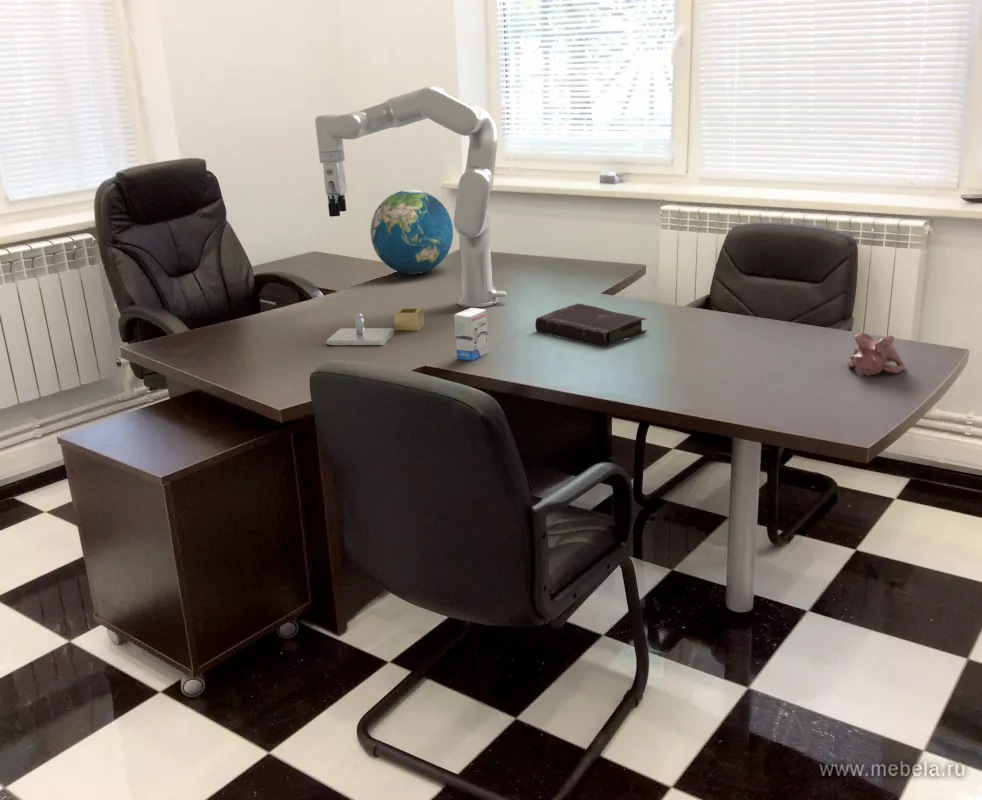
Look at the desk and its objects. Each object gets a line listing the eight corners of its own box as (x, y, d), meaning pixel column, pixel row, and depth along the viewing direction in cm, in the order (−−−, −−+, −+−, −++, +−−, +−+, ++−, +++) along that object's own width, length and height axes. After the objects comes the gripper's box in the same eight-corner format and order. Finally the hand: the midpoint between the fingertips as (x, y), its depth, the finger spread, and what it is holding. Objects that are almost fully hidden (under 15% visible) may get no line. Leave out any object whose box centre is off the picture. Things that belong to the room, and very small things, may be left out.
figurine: (848, 379, 222) (833, 366, 210) (857, 337, 223) (843, 322, 211) (902, 387, 216) (890, 374, 203) (911, 344, 216) (900, 329, 204)
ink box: (472, 361, 238) (469, 316, 234) (455, 359, 240) (452, 315, 236) (489, 352, 245) (487, 308, 241) (474, 350, 247) (471, 306, 243)
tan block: (424, 324, 274) (423, 307, 273) (418, 330, 268) (417, 313, 266) (401, 324, 276) (399, 307, 274) (395, 330, 269) (393, 314, 267)
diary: (603, 350, 243) (603, 332, 241) (535, 334, 261) (534, 317, 259) (648, 333, 255) (648, 315, 253) (580, 319, 272) (579, 302, 271)
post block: (394, 333, 267) (392, 307, 264) (382, 345, 256) (380, 319, 253) (341, 333, 270) (338, 308, 267) (327, 345, 258) (324, 319, 256)
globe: (465, 264, 351) (460, 183, 341) (440, 282, 325) (434, 195, 314) (392, 264, 359) (385, 185, 349) (361, 282, 333) (353, 196, 322)
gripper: (338, 159, 276) (344, 217, 281) (349, 153, 292) (355, 208, 298) (313, 160, 276) (320, 218, 282) (325, 155, 292) (332, 210, 298)
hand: (338, 213), depth 290 cm, fingers open, 9 cm apart
